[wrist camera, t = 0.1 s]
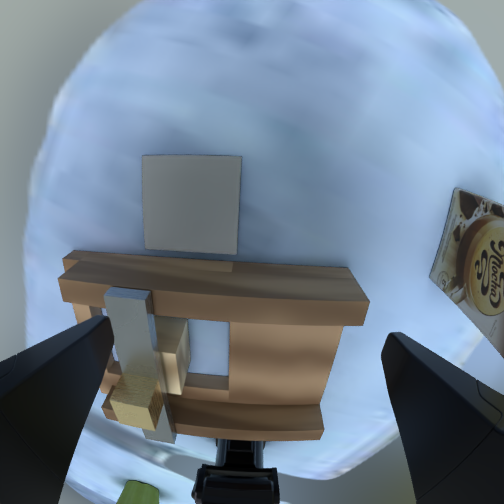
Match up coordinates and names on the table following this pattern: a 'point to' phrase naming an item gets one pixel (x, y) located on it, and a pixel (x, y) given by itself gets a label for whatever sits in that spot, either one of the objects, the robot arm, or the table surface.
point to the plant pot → (138, 494)
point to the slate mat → (191, 202)
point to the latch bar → (138, 365)
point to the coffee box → (474, 262)
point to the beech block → (173, 351)
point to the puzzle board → (235, 335)
